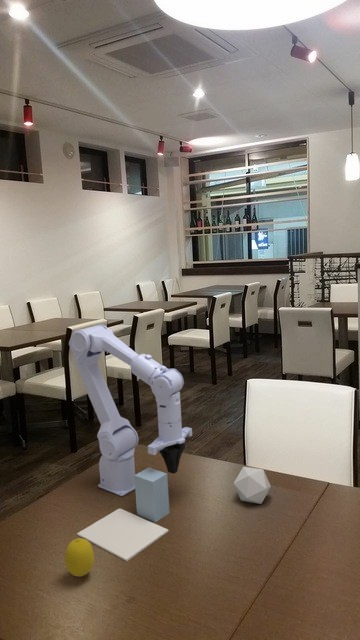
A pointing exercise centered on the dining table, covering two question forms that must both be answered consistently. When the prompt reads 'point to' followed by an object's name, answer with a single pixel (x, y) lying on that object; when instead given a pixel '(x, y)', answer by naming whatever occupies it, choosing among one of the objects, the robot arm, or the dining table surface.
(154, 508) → the block
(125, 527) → the mat
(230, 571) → the dining table surface
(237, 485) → the die
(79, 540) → the lemon
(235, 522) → the dining table surface
